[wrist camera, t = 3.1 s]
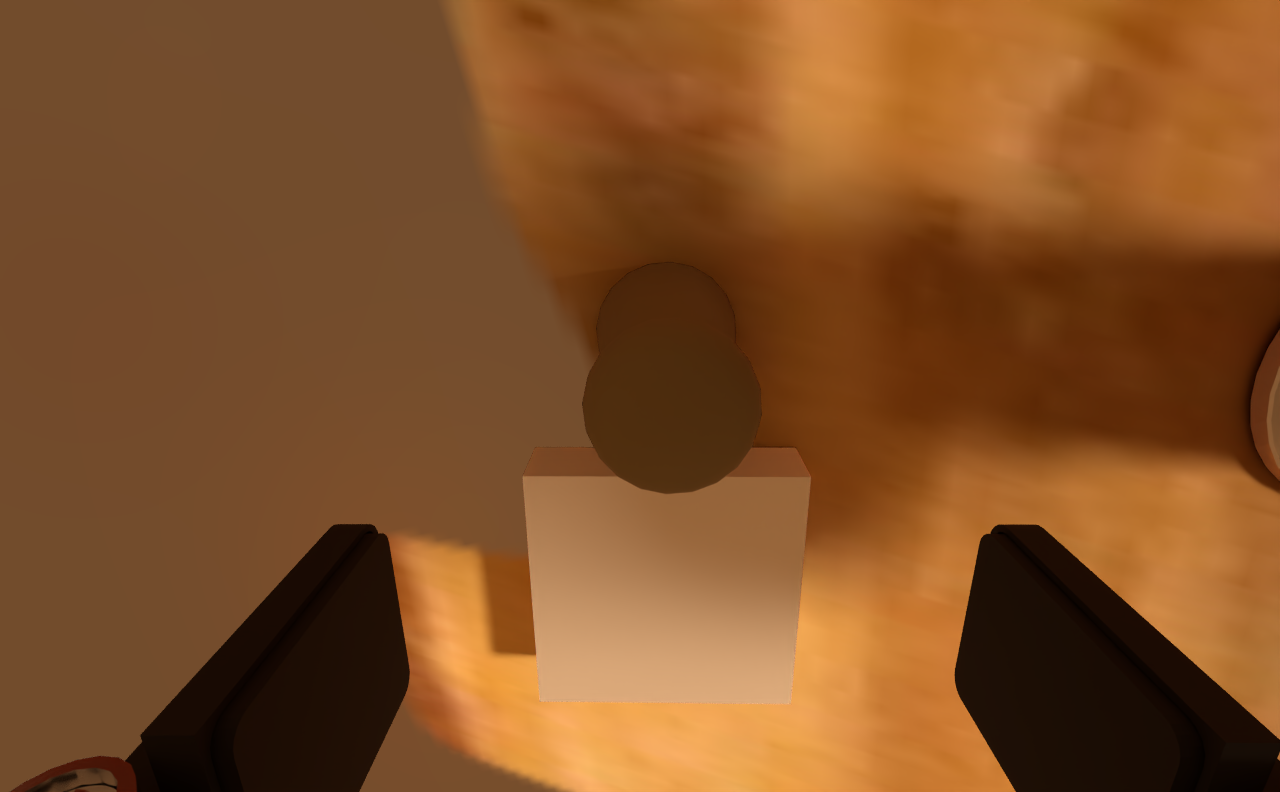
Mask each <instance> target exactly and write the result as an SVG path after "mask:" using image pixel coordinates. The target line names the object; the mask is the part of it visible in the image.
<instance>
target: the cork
mask: <svg viewBox="0 0 1280 792" xmlns="http://www.w3.org/2000/svg"><path fill="white" fill-rule="evenodd" d="M596 329H597V337H598V345H599V352H600V355H599V357H598V358H597V360H596V362H595V364H594V365H593V367H592V369H591V370H590V372H589V375H588V377H587V382H586V387H585V392H584V397H583V402H582V406H583V413H584V420H585V427H586V431H587V434H588V436H589V438H590V440H591V442H592V444H593V446H594V448H595V450H596V452H597V454H598V456H599V458H600V459H601V460H602V461H603V462H604V463H605V464H606V465H607V466H608V467H609V468H610V469H611V470H612V471H613V473H614V474H615V475H616V476H617V477H619V478H621V479H623V480H625V481H627V482H629V483H630V484H632V485H634V486H636V487H638V488H640V489H643V490H648V491H653V492H658V493H663V494H675V493H687V492H694V491H697V490H699V489H702V488H705V487H707V486H710V485H712V484H715V483H717V482H719V481H720V480H721V479H723V478H724V477H725V476H727V475H728V474H729V473H730V472H732V471H733V470H734V469H736V468H737V467H738V466H739V464H740V463H741V462H742V460H743V459H744V457H745V456H746V455H747V453H748V452H749V450H750V449H751V447H752V446H753V443H754V440H755V436H756V433H757V430H758V426H759V423H760V419H761V415H762V414H761V389H760V386H759V383H758V381H757V378H756V376H755V373H754V371H753V368H752V366H751V363H750V361H749V360H748V358H747V357H746V355H745V354H744V353H743V352H742V351H741V350H740V349H739V347H738V346H737V345H736V332H735V315H734V313H733V310H732V307H731V305H730V302H729V300H728V297H727V295H726V294H725V293H724V292H723V290H722V289H721V288H720V287H719V286H718V284H717V283H716V282H715V281H714V280H713V279H712V278H711V277H709V276H707V275H706V274H704V273H703V272H701V271H699V270H698V269H696V268H694V267H691V266H687V265H682V264H678V263H674V262H666V263H656V264H648V265H646V266H643V267H641V268H639V269H637V270H634V271H632V272H630V273H628V274H627V275H626V276H624V277H623V278H622V279H621V280H620V281H619V282H618V283H617V284H616V285H615V286H613V287H612V288H611V290H610V292H609V293H608V295H607V297H606V299H605V300H604V302H603V304H602V306H601V308H600V313H599V318H598V323H597V328H596Z"/></svg>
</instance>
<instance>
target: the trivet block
mask: <svg viewBox="0 0 1280 792" xmlns="http://www.w3.org/2000/svg"><path fill="white" fill-rule="evenodd" d="M522 478H523V490H524V504H525V517H526V530H527V542H528V555H529V568H530V581H531V594H532V607H533V620H534V633H535V646H536V659H537V672H538V685H539V698H540V702H631V703H722V704H791V695H792V684H793V673H794V662H795V651H796V640H797V629H798V618H799V607H800V596H801V585H802V574H803V563H804V552H805V540H806V529H807V518H808V507H809V496H810V485H811V476H810V474H809V472H808V470H807V468H806V466H805V464H804V462H803V460H802V458H801V457H800V455H799V453H798V451H797V449H796V448H751V449H750V450H749V452H748V453H747V455H746V456H745V457H744V459H743V460H742V462H741V463H740V464H739V466H738V467H737V468H736V469H734V470H733V471H732V472H730V473H729V474H728V475H727V476H725V477H724V478H723V479H721V480H720V481H719V482H717V483H715V484H712V485H710V486H707V487H705V488H702V489H699V490H697V491H694V492H687V493H675V494H663V493H658V492H653V491H648V490H643V489H640V488H638V487H636V486H634V485H632V484H630V483H629V482H627V481H625V480H623V479H621V478H619V477H617V476H616V475H615V474H614V473H613V471H612V470H611V469H610V468H609V467H608V466H607V465H606V464H605V463H604V462H603V461H602V460H601V459H600V458H599V456H598V454H597V452H596V450H595V448H594V447H535V449H534V451H533V453H532V456H531V458H530V460H529V463H528V465H527V467H526V469H525V472H524V474H523V476H522Z"/></svg>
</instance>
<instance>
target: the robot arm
mask: <svg viewBox="0 0 1280 792" xmlns="http://www.w3.org/2000/svg"><path fill="white" fill-rule="evenodd" d="M1250 426H1251V430H1252V435H1253V439H1254V443H1255V447H1256V449H1257V451H1258V453H1259V455H1260V457H1261V459H1262V460H1263V462H1264V464H1265V466H1266V467H1267V469H1268V470H1269V471H1270V472H1271V473H1272V474H1273V475H1274V476H1275V477H1276V478H1277V479H1278V480H1279V481H1280V330H1279V331H1278V333H1277V334H1276V336H1275V338H1274V339H1273V341H1272V342H1271V344H1270V345H1269V347H1268V349H1267V351H1266V354H1265V356H1264V358H1263V361H1262V363H1261V365H1260V368H1259V370H1258V372H1257V375H1256V379H1255V384H1254V388H1253V392H1252V397H1251V412H1250ZM409 674H410V671H409V663H408V657H407V650H406V644H405V638H404V632H403V626H402V620H401V614H400V607H399V601H398V595H397V589H396V583H395V577H394V571H393V564H392V558H391V552H390V546H389V541H388V538H387V536H386V535H385V534H378V531H377V529H376V528H375V526H373V525H371V524H338V525H333V526H332V527H331V528H330V529H329V530H328V531H327V532H326V533H325V534H324V535H323V536H322V537H321V538H320V539H319V541H318V542H317V543H316V544H315V545H314V546H313V547H312V548H311V549H310V550H309V552H308V553H307V554H306V555H305V556H304V557H303V558H302V559H301V560H300V561H299V562H298V564H297V565H296V566H295V567H294V568H293V569H292V570H291V571H290V572H289V573H288V575H287V576H286V577H285V578H284V579H283V580H282V581H281V582H280V583H279V584H278V585H277V587H276V588H275V589H274V590H273V591H272V592H271V593H270V594H269V595H268V596H267V597H266V599H265V600H264V601H263V602H262V603H261V604H260V605H259V606H258V607H257V608H256V609H255V611H254V612H253V613H252V614H251V615H250V616H249V617H248V618H247V619H246V620H245V621H244V623H243V624H242V625H241V626H240V627H239V628H238V629H237V630H236V631H235V632H234V633H233V635H232V636H231V637H230V638H229V639H228V640H227V641H226V642H225V643H224V644H223V646H221V648H220V649H219V650H218V651H217V652H216V653H215V654H214V655H213V656H212V657H211V659H210V660H209V661H208V662H207V663H206V664H205V665H204V666H203V667H202V668H201V670H200V671H199V672H198V673H197V674H196V675H195V676H194V677H193V678H192V679H191V680H190V682H189V683H188V684H187V685H186V686H185V687H184V688H183V689H182V690H181V691H180V692H179V693H178V695H177V696H176V697H175V698H174V699H173V700H172V701H171V702H170V703H169V704H168V705H167V707H166V708H165V709H164V710H163V711H162V712H161V713H160V714H159V715H158V716H157V718H156V719H155V720H154V721H153V722H152V723H151V724H150V725H149V726H148V727H147V729H145V731H144V732H143V733H142V734H141V739H142V743H141V744H140V745H139V746H138V747H137V748H136V749H135V751H134V752H133V753H132V754H131V755H130V756H129V757H128V758H127V759H126V760H125V761H124V760H122V759H121V758H119V757H109V756H96V757H89V758H83V759H78V760H74V761H72V762H69V763H66V764H63V765H60V766H57V767H54V768H51V769H49V770H47V771H45V772H43V773H41V774H39V775H37V776H35V777H33V778H31V779H29V780H28V781H25V782H24V783H22V784H20V785H19V786H17V787H16V788H14V789H13V790H11V791H10V792H359V791H360V789H361V787H362V785H363V783H364V781H365V778H366V776H367V774H368V772H369V770H370V768H371V766H372V764H373V761H374V759H375V757H376V755H377V753H378V751H379V749H380V747H381V745H382V743H383V741H384V738H385V736H386V734H387V732H388V730H389V728H390V726H391V724H392V722H393V719H394V717H395V715H396V713H397V711H398V709H399V707H400V705H401V703H402V701H403V698H404V696H405V694H406V691H407V688H408V684H409ZM955 683H956V688H957V691H958V694H959V696H960V698H961V700H962V702H963V703H964V705H965V707H966V708H967V710H968V712H969V713H970V715H971V717H972V718H973V720H974V722H975V724H976V725H977V727H978V729H979V730H980V732H981V734H982V735H983V737H984V739H985V740H986V742H987V744H988V745H989V747H990V749H991V750H992V752H993V754H994V756H995V757H996V759H997V761H998V762H999V764H1000V766H1001V767H1002V769H1003V771H1004V772H1005V774H1006V776H1007V777H1008V779H1009V781H1010V782H1011V784H1012V786H1013V788H1014V789H1015V791H1016V792H1280V761H1279V760H1278V759H1277V757H1278V755H1279V752H1280V740H1279V739H1278V738H1277V737H1276V736H1275V735H1274V734H1273V733H1272V732H1270V731H1269V730H1268V729H1267V728H1266V727H1265V726H1264V725H1263V724H1261V723H1260V722H1259V721H1258V720H1257V719H1256V718H1255V717H1254V716H1253V715H1251V714H1250V713H1249V712H1248V711H1247V710H1246V709H1245V708H1244V707H1242V706H1241V705H1240V704H1239V703H1238V702H1237V701H1236V700H1235V699H1234V698H1232V697H1231V696H1230V695H1229V694H1228V693H1227V692H1226V691H1225V690H1223V689H1222V688H1221V687H1220V686H1219V685H1218V684H1217V683H1216V682H1215V681H1213V680H1212V679H1211V678H1210V677H1209V676H1208V675H1207V674H1206V673H1204V672H1203V671H1202V670H1201V669H1200V668H1199V667H1198V666H1197V665H1196V664H1194V663H1193V662H1192V661H1191V660H1190V659H1189V658H1188V657H1187V656H1186V655H1184V654H1183V653H1182V652H1181V651H1180V650H1179V649H1178V648H1177V647H1175V646H1174V645H1173V644H1172V643H1171V642H1170V641H1169V640H1168V639H1167V638H1165V637H1164V636H1163V635H1162V634H1161V633H1160V632H1159V631H1158V630H1156V629H1155V628H1154V627H1153V626H1152V625H1151V624H1150V623H1149V622H1148V621H1146V620H1145V619H1144V618H1143V617H1142V616H1141V615H1140V614H1139V613H1137V612H1136V611H1135V610H1134V609H1133V608H1132V607H1131V606H1130V605H1129V604H1127V603H1126V602H1125V601H1124V600H1123V599H1122V598H1121V597H1120V596H1118V595H1117V594H1116V593H1115V592H1114V591H1113V590H1112V589H1111V588H1110V587H1108V586H1107V585H1106V584H1105V583H1104V582H1103V581H1102V580H1101V579H1099V578H1098V577H1097V576H1096V575H1095V574H1094V573H1093V572H1092V571H1091V570H1089V569H1088V568H1087V567H1086V566H1085V565H1084V564H1083V563H1082V562H1080V561H1079V560H1078V559H1077V558H1076V557H1075V556H1074V555H1073V554H1072V553H1070V552H1069V551H1068V550H1067V549H1066V548H1065V547H1064V546H1063V545H1061V544H1060V543H1059V542H1058V541H1057V540H1056V539H1055V538H1054V537H1053V536H1051V535H1050V534H1049V533H1048V532H1047V531H1046V530H1045V529H1044V528H1042V527H1040V526H1039V525H997V526H995V527H994V528H993V529H992V531H991V534H985V535H983V537H982V538H981V541H980V544H979V549H978V554H977V560H976V565H975V570H974V575H973V580H972V585H971V590H970V596H969V601H968V606H967V611H966V616H965V621H964V626H963V632H962V637H961V642H960V647H959V652H958V657H957V662H956V668H955Z"/></svg>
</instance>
